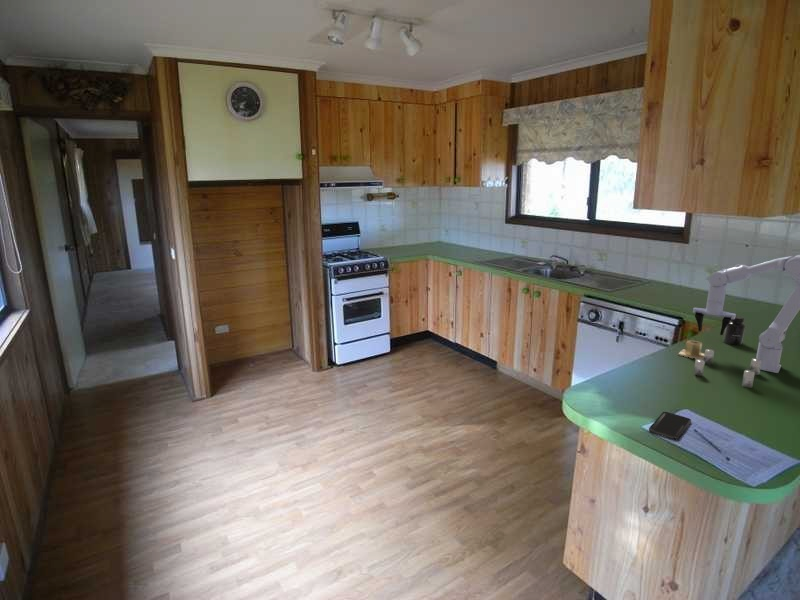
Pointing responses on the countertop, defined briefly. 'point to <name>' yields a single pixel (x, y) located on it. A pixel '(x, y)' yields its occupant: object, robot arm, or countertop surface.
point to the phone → (670, 425)
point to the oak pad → (682, 353)
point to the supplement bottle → (735, 331)
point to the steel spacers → (748, 374)
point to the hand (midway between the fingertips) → (710, 332)
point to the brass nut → (693, 348)
